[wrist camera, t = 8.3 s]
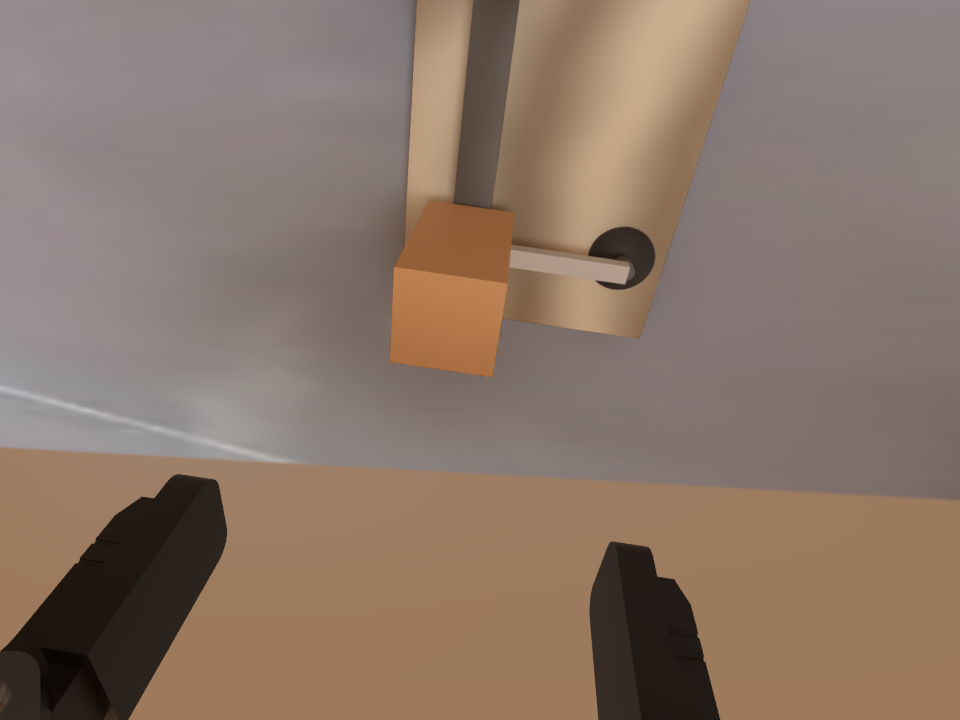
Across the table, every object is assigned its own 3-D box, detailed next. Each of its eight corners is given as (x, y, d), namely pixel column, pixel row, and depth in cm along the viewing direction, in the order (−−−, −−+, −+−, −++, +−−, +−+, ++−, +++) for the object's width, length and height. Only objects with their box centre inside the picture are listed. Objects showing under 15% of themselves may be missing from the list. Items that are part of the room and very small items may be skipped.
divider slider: (641, 224, 24) (683, 309, 17) (620, 298, 26) (649, 400, 19) (432, 194, 24) (394, 267, 17) (426, 270, 26) (390, 361, 19)
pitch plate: (807, -211, 18) (1036, -389, 10) (635, 327, 29) (676, 455, 21) (437, -266, 18) (357, -489, 10) (406, 292, 29) (355, 407, 21)
